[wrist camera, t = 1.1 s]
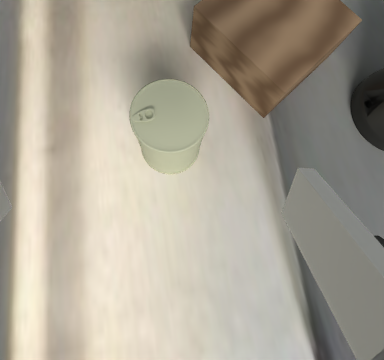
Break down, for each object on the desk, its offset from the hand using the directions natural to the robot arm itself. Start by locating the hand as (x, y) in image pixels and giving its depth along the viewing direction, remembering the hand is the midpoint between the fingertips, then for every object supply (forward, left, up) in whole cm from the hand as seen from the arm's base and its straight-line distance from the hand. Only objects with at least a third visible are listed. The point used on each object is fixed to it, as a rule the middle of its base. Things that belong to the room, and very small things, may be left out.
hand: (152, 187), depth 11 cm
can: (+7, -8, -27) cm, 29 cm away
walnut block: (+9, -32, -27) cm, 42 cm away
